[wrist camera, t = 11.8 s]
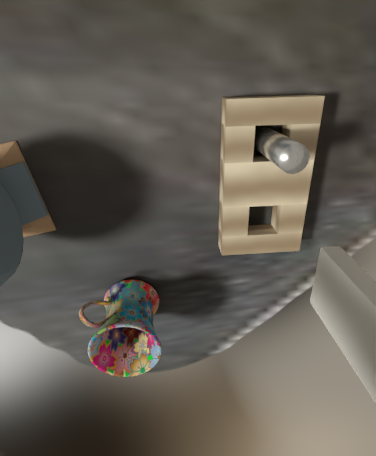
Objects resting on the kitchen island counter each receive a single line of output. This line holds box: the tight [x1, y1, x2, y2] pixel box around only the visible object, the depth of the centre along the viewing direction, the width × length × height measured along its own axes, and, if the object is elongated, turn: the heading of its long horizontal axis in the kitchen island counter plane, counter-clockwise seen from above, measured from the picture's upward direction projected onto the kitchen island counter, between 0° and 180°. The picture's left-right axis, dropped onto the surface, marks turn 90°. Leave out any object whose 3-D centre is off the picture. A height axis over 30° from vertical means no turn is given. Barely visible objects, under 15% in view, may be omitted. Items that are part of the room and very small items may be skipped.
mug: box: [79, 280, 162, 377], centre depth 43 cm, size 12×9×11 cm
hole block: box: [218, 95, 325, 255], centre depth 39 cm, size 20×11×3 cm, turn 1°
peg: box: [254, 127, 310, 174], centre depth 34 cm, size 3×3×10 cm
